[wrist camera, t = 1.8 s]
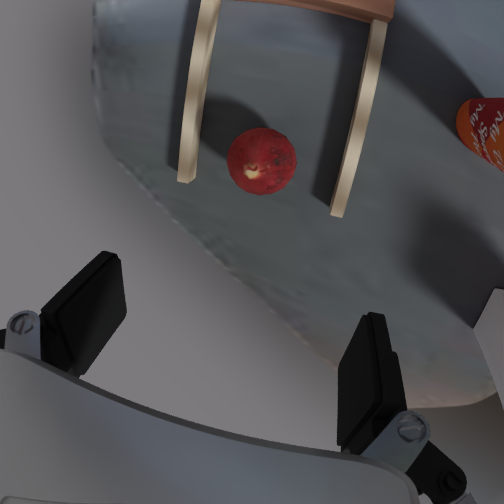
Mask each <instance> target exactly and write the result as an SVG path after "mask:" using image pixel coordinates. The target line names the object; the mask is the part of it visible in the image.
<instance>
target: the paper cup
mask: <svg viewBox="0 0 504 504" xmlns="http://www.w3.org/2000/svg"><path fill="white" fill-rule="evenodd" d="M456 129H457V133H458V135H459V138H460V139H461V141H462V142H463V144H464V145H465V146H466V147H467V148H469V149H470V150H471V151H473V152H474V153H476V154H477V155H479V156H480V157H482V158H483V159H485V160H486V161H488V162H489V163H491V164H492V165H494V166H495V167H497V168H498V169H499V170H501V171H502V172H504V98H475V99H470V100H467V101H466V102H464V103H463V104H462V105H461V107H460V108H459V110H458V113H457V116H456Z"/></svg>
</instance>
